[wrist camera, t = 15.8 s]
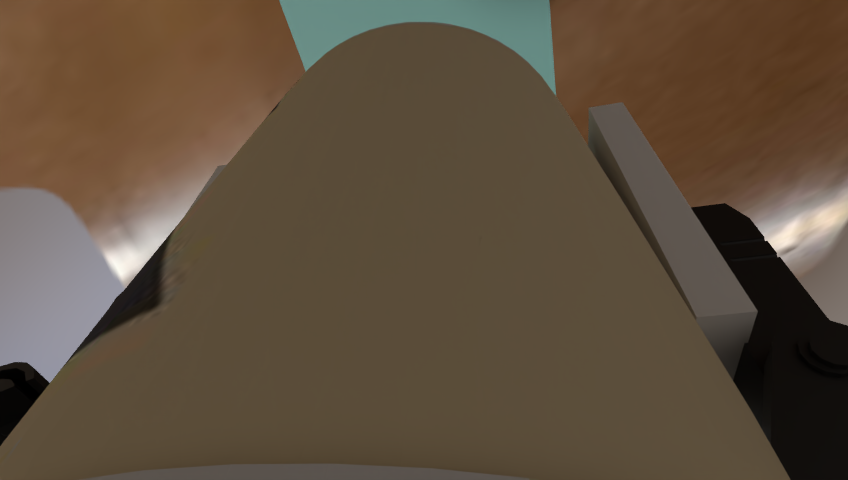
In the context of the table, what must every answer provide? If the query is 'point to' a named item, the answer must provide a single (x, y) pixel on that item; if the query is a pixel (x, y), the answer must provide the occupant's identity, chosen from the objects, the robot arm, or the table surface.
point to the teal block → (443, 3)
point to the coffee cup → (400, 303)
